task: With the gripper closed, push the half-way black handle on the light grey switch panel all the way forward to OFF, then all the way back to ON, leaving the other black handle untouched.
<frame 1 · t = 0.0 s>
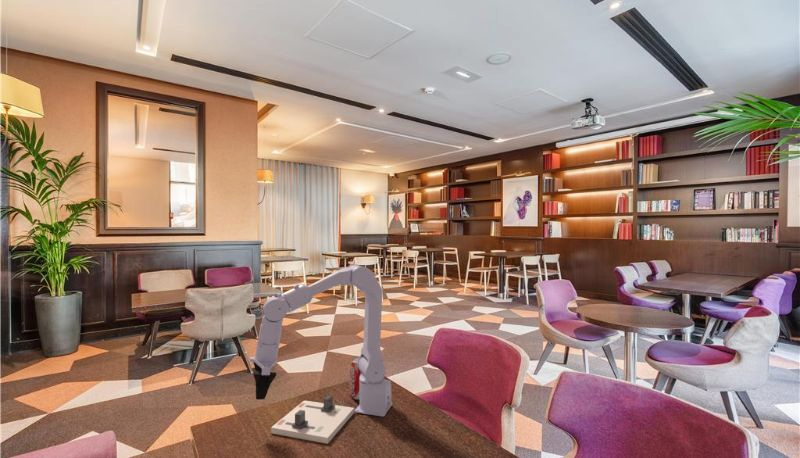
hand: (259, 392, 94), 11 cm above the table, tool pointing down, fingers open, 7 cm apart
breaker panel: (314, 422, 99), on the table
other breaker: (328, 403, 103), point 3 cm above the table, slide at 0.0 cm
soda can: (360, 397, 115), on the table
tripped breaker: (300, 418, 95), point 3 cm above the table, slide at 3.0 cm
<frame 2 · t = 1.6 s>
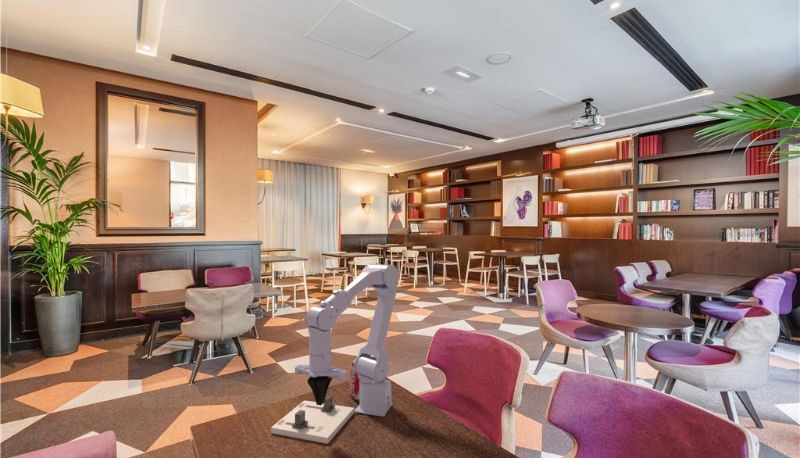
hand: (320, 403, 93), 8 cm above the table, tool pointing down, fingers closed
nothing on the table moved.
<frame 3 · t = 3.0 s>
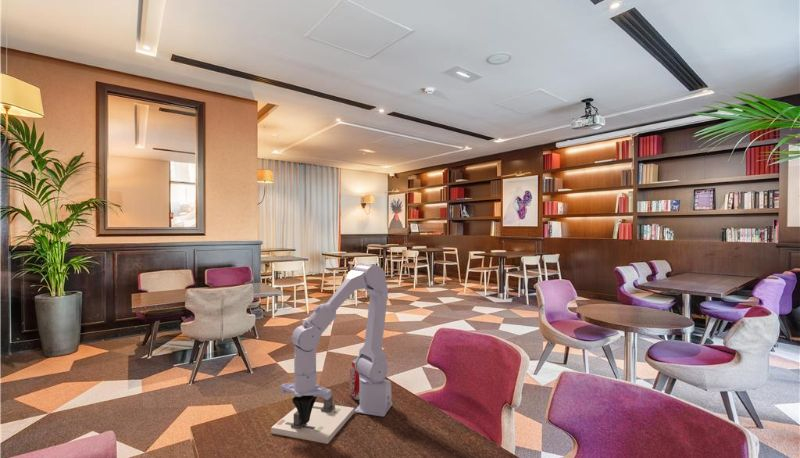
hand: (305, 422, 94), 3 cm above the table, tool pointing down, fingers closed
tripped breaker: (298, 418, 95), point 3 cm above the table, slide at 3.4 cm, touching gripper
everything else where it was.
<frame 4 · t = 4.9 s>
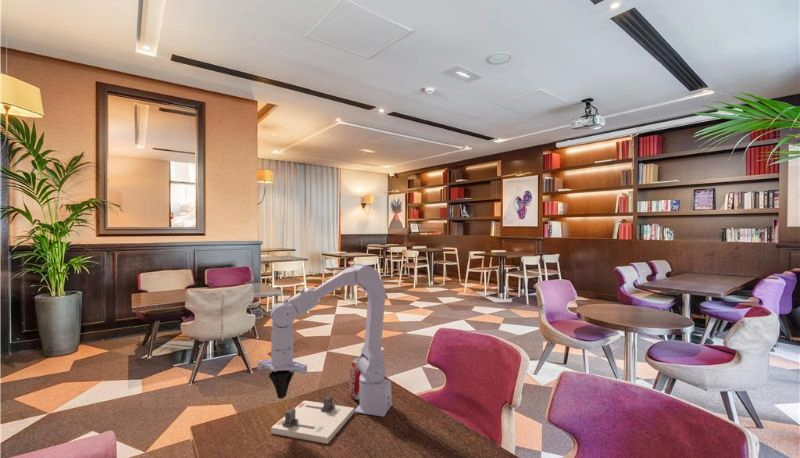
hand: (282, 397, 96), 9 cm above the table, tool pointing down, fingers closed
tripped breaker: (290, 417, 95), point 3 cm above the table, slide at 6.1 cm
everything else where it was.
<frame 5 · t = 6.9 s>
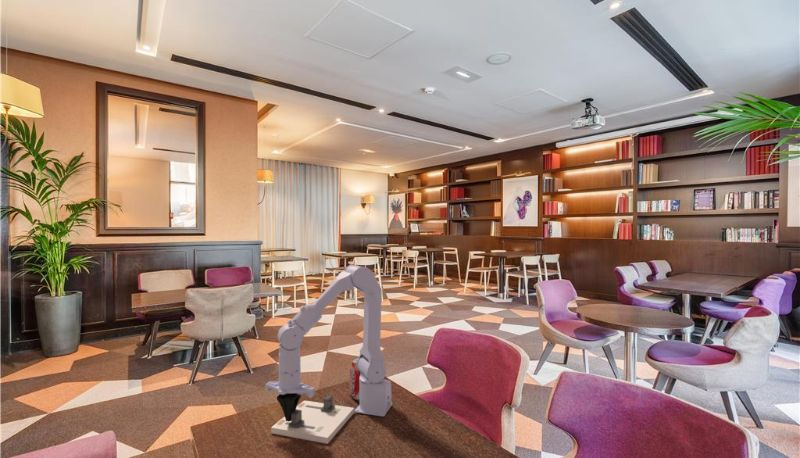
hand: (289, 419, 96), 3 cm above the table, tool pointing down, fingers closed
tripped breaker: (296, 418, 95), point 3 cm above the table, slide at 4.1 cm, touching gripper
everything else where it was.
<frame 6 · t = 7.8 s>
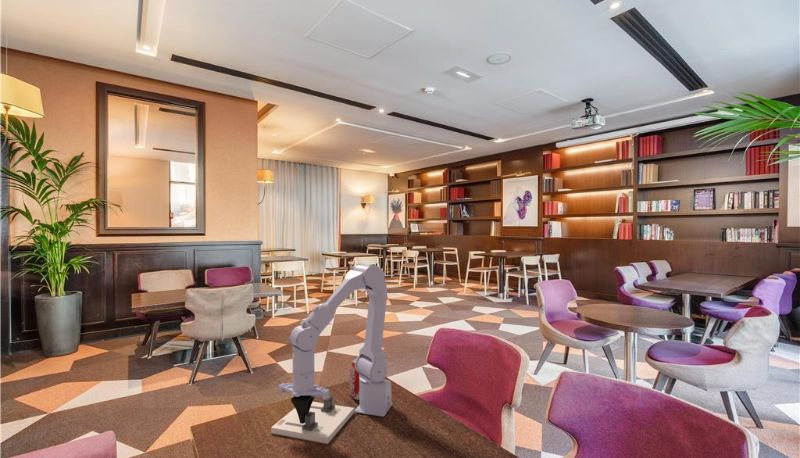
hand: (303, 421, 94), 3 cm above the table, tool pointing down, fingers closed
tripped breaker: (310, 420, 94), point 3 cm above the table, slide at -0.1 cm, touching gripper
everything else where it was.
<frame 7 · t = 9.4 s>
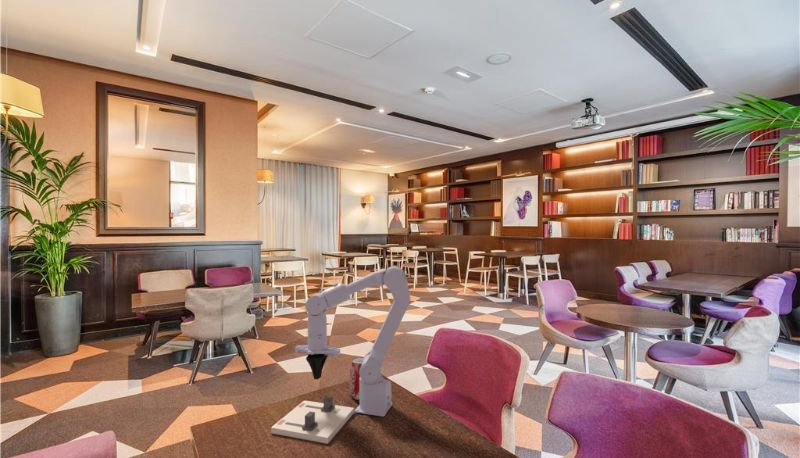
hand: (317, 378, 107), 9 cm above the table, tool pointing down, fingers closed
tripped breaker: (309, 420, 94), point 3 cm above the table, slide at -0.1 cm
everything else where it was.
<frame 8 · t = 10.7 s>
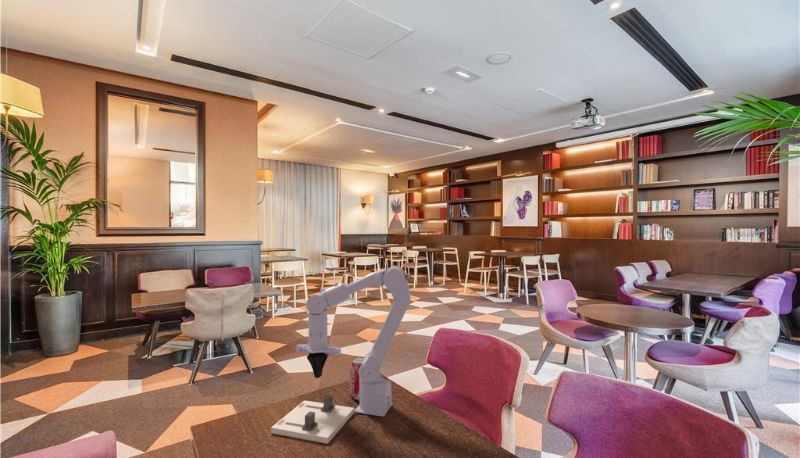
hand: (318, 376, 108), 9 cm above the table, tool pointing down, fingers closed
nothing on the table moved.
at the end: tripped breaker slide at -0.1 cm; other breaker slide at 0.0 cm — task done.
